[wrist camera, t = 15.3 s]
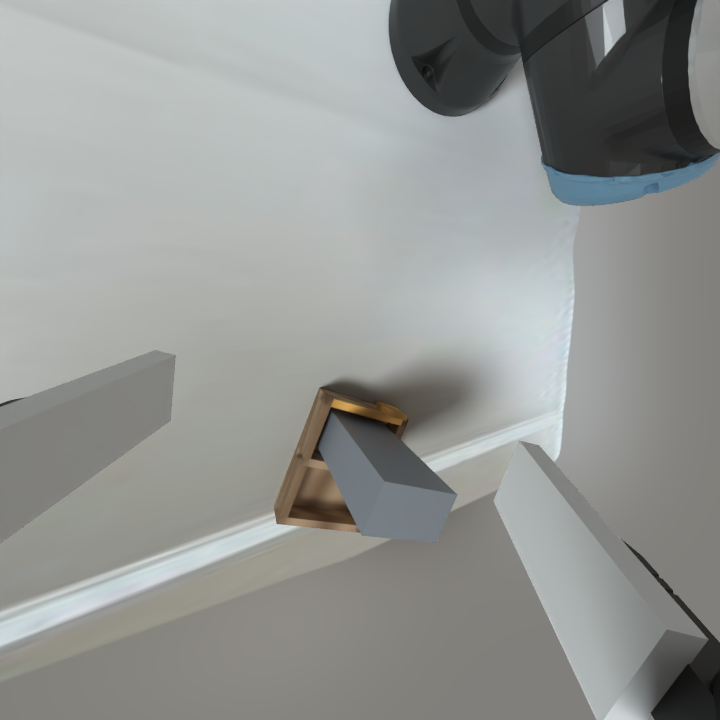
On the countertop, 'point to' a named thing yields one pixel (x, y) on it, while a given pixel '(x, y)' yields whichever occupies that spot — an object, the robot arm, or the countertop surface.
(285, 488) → the divided wooden tray
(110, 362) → the countertop surface
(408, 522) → the block
